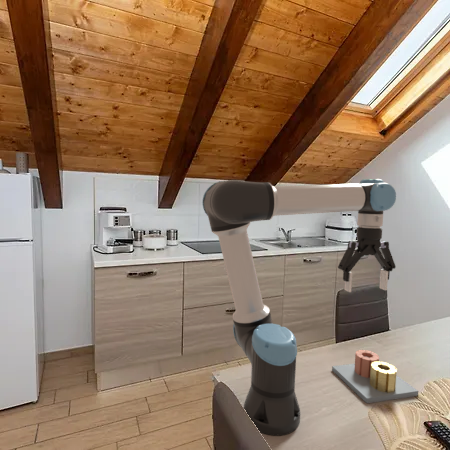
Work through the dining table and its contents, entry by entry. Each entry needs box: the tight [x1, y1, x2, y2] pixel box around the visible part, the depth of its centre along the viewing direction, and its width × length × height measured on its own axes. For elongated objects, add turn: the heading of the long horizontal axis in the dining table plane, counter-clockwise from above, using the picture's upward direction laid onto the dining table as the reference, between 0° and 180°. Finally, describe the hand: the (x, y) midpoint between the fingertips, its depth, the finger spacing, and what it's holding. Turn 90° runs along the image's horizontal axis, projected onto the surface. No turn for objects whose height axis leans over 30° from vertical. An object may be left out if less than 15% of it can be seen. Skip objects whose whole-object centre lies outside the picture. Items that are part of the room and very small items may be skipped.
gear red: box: [354, 349, 380, 378], centre depth 106 cm, size 7×7×6 cm
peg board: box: [331, 356, 419, 404], centre depth 103 cm, size 18×18×6 cm
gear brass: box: [370, 360, 398, 393], centre depth 99 cm, size 7×7×6 cm
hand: (365, 290), depth 107 cm, fingers open, 13 cm apart
